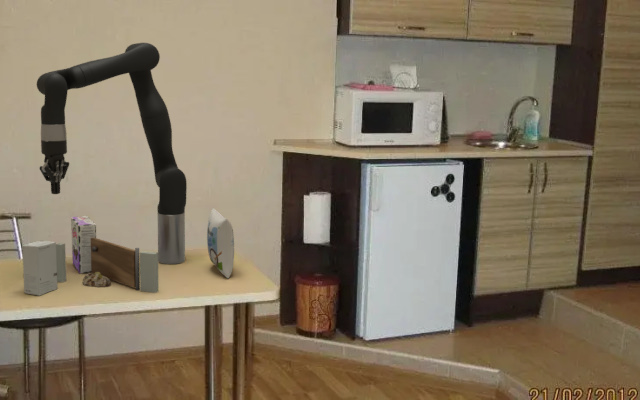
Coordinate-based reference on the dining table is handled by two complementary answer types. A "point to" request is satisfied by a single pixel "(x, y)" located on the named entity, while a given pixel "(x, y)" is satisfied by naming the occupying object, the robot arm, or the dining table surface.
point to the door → (113, 261)
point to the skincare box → (39, 267)
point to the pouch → (220, 242)
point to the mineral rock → (96, 280)
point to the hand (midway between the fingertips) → (55, 193)
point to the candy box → (82, 242)
